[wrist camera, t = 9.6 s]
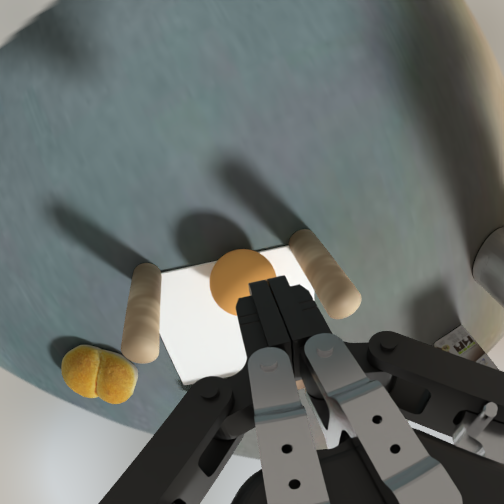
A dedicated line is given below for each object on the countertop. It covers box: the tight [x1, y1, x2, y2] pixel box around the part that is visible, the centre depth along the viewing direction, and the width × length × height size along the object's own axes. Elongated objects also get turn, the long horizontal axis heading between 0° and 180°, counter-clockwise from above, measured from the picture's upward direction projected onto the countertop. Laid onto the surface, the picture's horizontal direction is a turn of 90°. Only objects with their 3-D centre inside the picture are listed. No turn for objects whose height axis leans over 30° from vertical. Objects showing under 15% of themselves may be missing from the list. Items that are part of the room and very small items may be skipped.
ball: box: [209, 249, 276, 316], centre depth 26 cm, size 6×6×6 cm
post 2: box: [289, 229, 361, 319], centre depth 25 cm, size 3×3×9 cm
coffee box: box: [434, 325, 499, 370], centre depth 39 cm, size 9×6×16 cm
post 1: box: [121, 263, 162, 363], centre depth 23 cm, size 3×3×9 cm
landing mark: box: [159, 245, 314, 385], centre depth 32 cm, size 16×16×1 cm
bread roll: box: [61, 345, 138, 404], centre depth 31 cm, size 8×9×4 cm
